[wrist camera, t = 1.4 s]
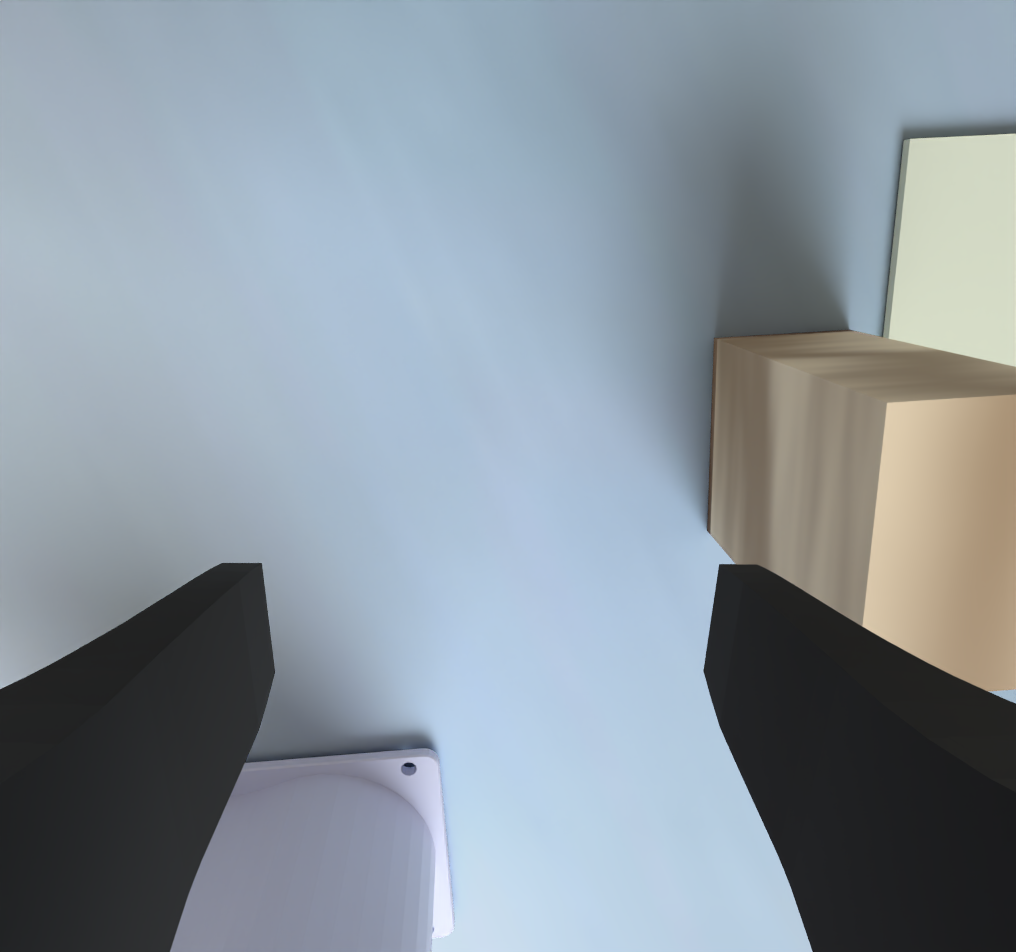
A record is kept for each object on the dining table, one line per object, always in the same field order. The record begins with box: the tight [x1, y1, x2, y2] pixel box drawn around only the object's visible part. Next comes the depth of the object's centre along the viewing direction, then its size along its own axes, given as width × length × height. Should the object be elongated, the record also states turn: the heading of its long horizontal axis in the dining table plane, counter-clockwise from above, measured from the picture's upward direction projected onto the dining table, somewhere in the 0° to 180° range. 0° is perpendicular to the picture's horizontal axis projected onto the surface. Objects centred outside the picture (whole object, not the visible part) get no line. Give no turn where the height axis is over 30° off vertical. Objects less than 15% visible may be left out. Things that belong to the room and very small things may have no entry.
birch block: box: [707, 330, 1016, 691], centre depth 18 cm, size 4×6×9 cm, turn 3°
